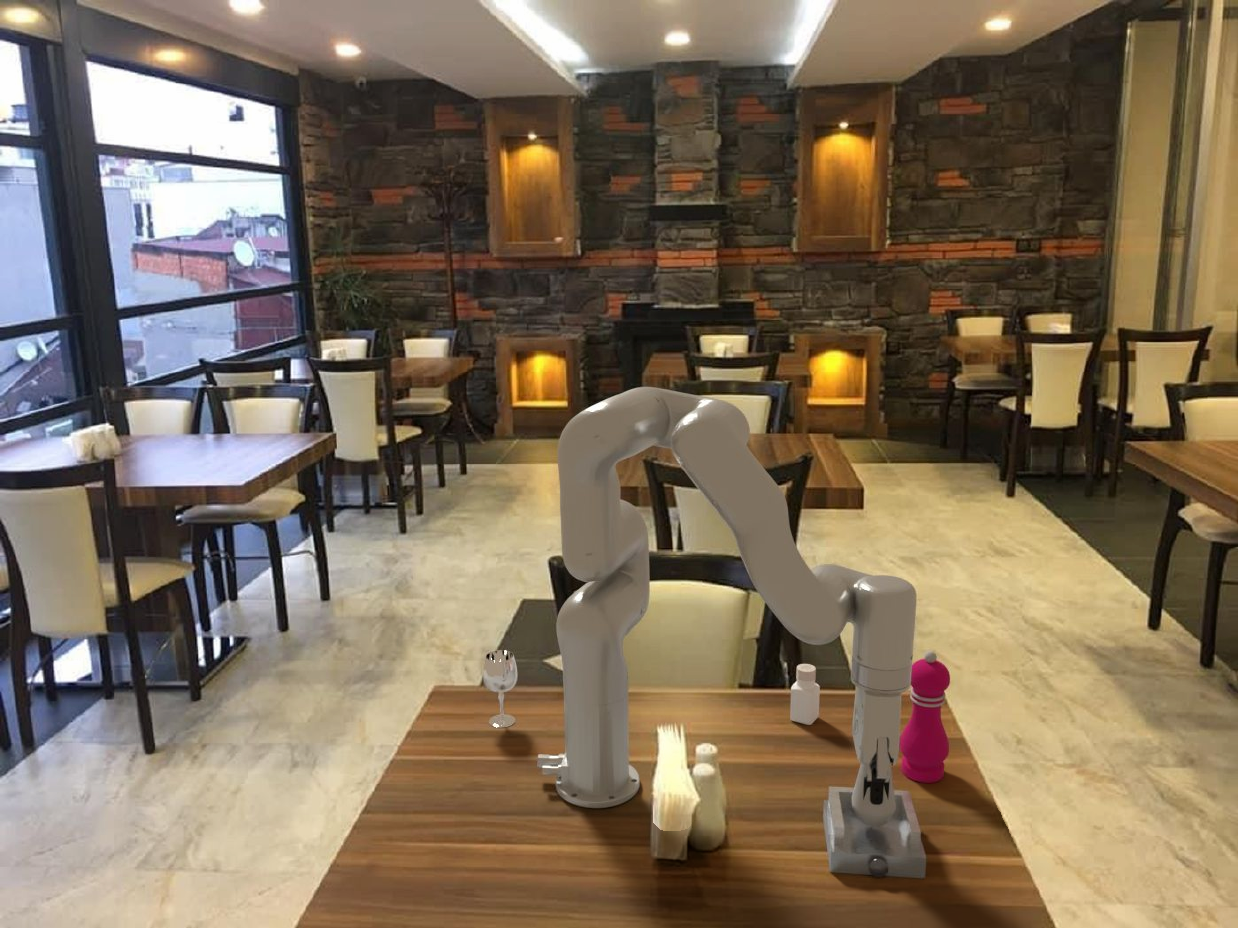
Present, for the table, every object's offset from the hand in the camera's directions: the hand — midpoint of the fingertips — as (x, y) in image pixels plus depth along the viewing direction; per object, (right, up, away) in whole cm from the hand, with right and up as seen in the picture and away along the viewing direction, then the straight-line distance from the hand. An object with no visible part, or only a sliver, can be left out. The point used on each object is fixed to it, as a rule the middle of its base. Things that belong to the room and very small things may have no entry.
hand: (873, 796), depth 134 cm
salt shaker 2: (0, -3, +1) cm, 3 cm away
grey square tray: (0, -7, +2) cm, 8 cm away
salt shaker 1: (-3, +1, +36) cm, 37 cm away
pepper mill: (+13, -3, +20) cm, 24 cm away
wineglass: (-54, +1, +37) cm, 65 cm away
